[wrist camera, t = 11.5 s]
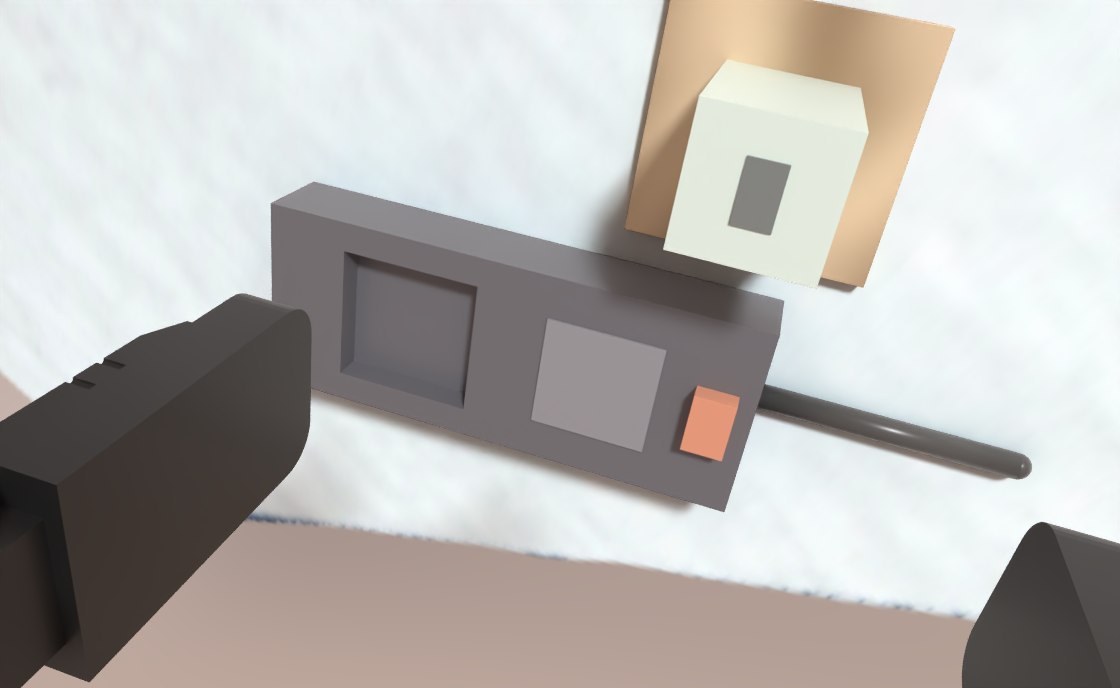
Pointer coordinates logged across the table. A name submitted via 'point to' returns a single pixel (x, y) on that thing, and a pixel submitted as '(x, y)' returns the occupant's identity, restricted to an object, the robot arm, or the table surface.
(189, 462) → the robot arm
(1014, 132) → the table surface
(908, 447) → the power strip
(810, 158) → the block
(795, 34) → the cork mat
